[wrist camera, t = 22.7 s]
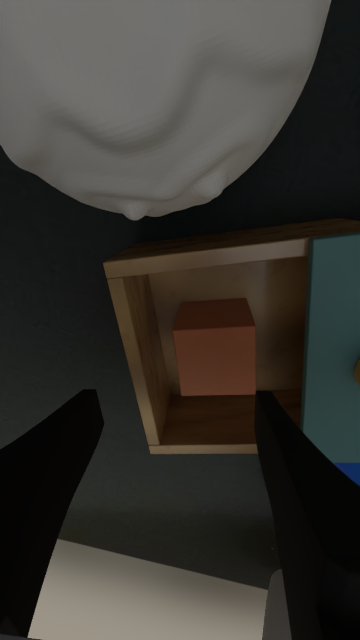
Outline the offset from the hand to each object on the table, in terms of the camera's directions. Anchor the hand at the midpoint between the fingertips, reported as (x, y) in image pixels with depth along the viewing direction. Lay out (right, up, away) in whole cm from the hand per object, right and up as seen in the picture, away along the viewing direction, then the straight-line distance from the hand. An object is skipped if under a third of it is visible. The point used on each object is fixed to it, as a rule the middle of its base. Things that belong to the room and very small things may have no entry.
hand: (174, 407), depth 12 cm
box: (+4, +4, +7) cm, 9 cm away
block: (+3, +3, +7) cm, 8 cm away
